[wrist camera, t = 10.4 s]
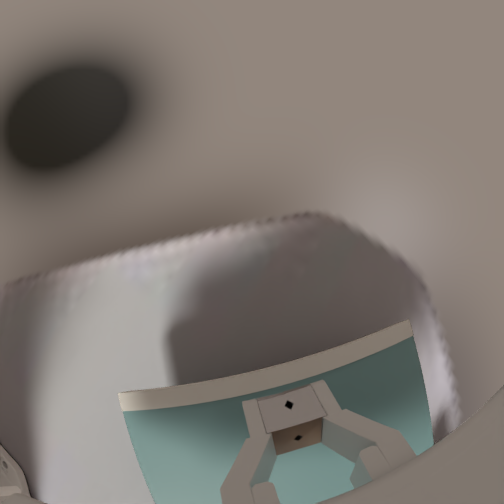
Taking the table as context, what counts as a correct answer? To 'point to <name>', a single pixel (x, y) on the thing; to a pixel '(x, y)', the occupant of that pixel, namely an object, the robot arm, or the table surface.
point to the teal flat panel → (265, 384)
